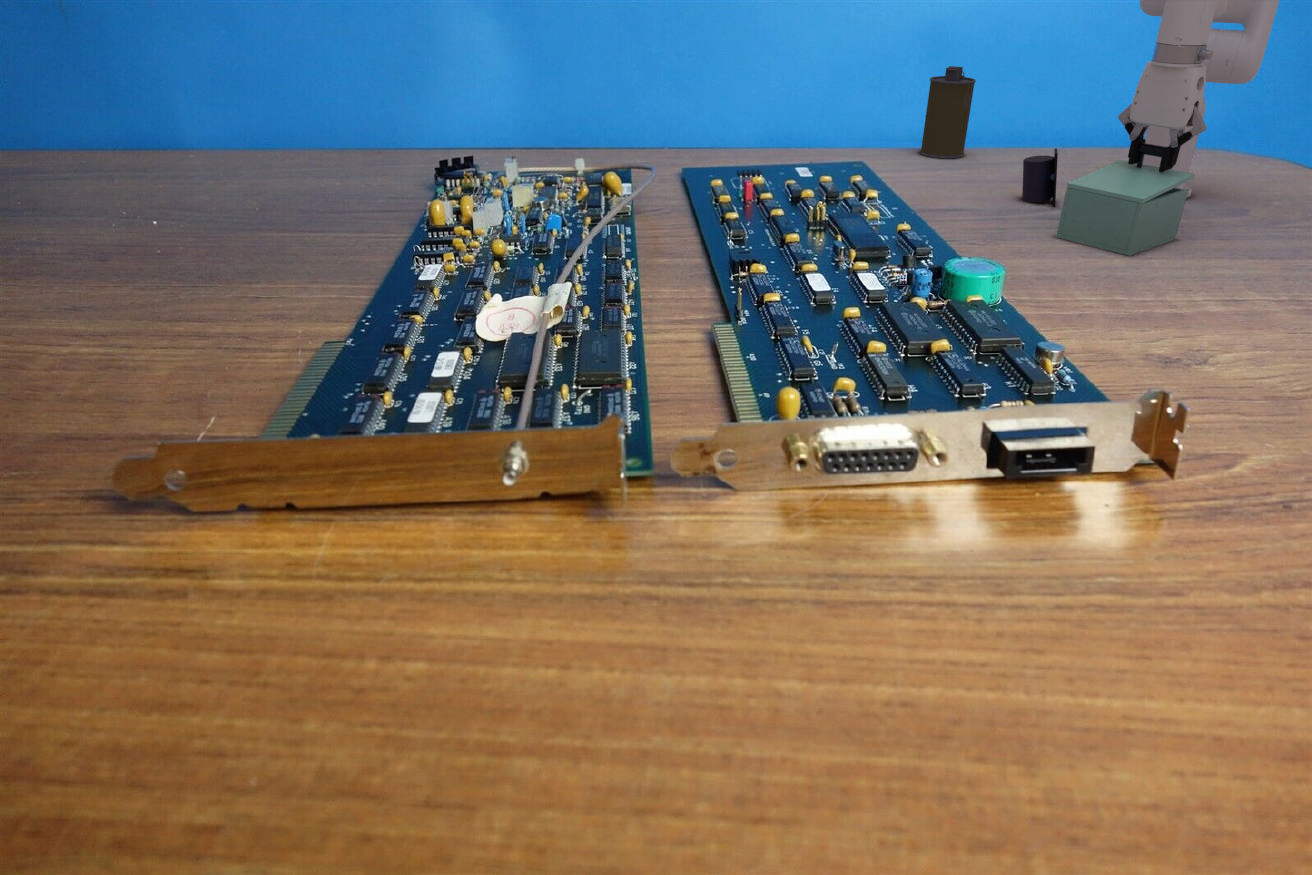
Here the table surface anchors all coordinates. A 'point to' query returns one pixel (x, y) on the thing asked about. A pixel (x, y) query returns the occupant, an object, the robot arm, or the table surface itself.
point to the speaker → (1040, 178)
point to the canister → (947, 114)
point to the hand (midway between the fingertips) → (1150, 165)
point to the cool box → (1121, 220)
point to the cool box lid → (1133, 178)
